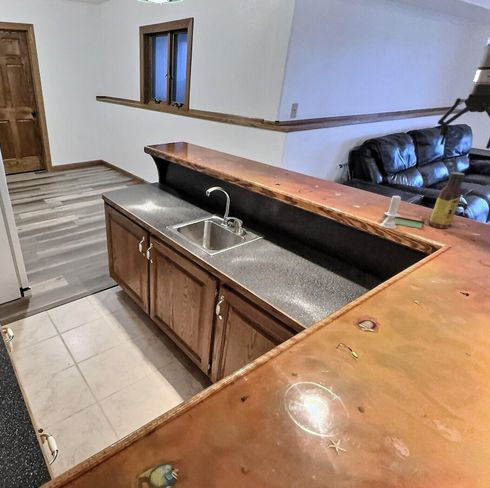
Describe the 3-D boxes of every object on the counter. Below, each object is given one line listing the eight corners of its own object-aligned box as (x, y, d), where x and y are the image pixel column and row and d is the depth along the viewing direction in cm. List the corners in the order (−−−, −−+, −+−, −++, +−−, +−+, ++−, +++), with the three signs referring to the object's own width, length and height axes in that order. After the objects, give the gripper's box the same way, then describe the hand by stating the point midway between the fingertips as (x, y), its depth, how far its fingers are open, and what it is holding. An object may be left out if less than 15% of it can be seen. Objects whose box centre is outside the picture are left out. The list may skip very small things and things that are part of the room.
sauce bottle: (445, 231, 125) (466, 176, 117) (425, 225, 129) (444, 173, 121) (451, 226, 129) (471, 173, 120) (431, 221, 133) (450, 170, 125)
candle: (383, 222, 133) (391, 191, 127) (398, 226, 129) (408, 195, 124) (377, 225, 130) (386, 194, 124) (393, 230, 126) (403, 198, 121)
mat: (422, 220, 134) (423, 219, 134) (421, 229, 127) (421, 228, 127) (387, 214, 140) (387, 213, 140) (383, 221, 133) (383, 220, 133)
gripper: (442, 83, 125) (423, 144, 134) (537, 84, 112) (509, 151, 121) (442, 83, 131) (424, 141, 140) (533, 84, 118) (506, 148, 126)
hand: (463, 146), depth 130 cm, fingers open, 13 cm apart
